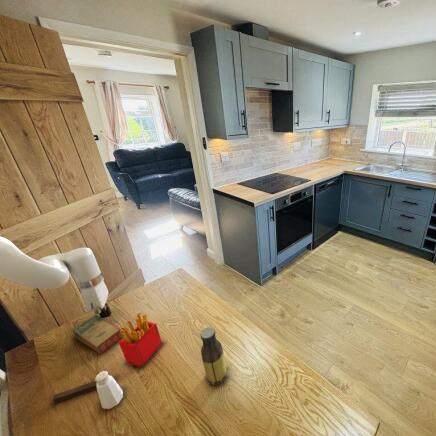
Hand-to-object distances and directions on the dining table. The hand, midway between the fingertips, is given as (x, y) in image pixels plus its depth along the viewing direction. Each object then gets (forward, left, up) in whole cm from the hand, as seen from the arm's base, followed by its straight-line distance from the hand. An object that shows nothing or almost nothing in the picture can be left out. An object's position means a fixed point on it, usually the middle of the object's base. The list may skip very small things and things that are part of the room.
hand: (106, 315), depth 95 cm
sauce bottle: (+37, -40, -2) cm, 55 cm away
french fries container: (+15, -22, -2) cm, 27 cm away
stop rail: (0, -29, -2) cm, 29 cm away
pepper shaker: (+8, -35, -2) cm, 36 cm away
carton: (-1, -8, -2) cm, 9 cm away
